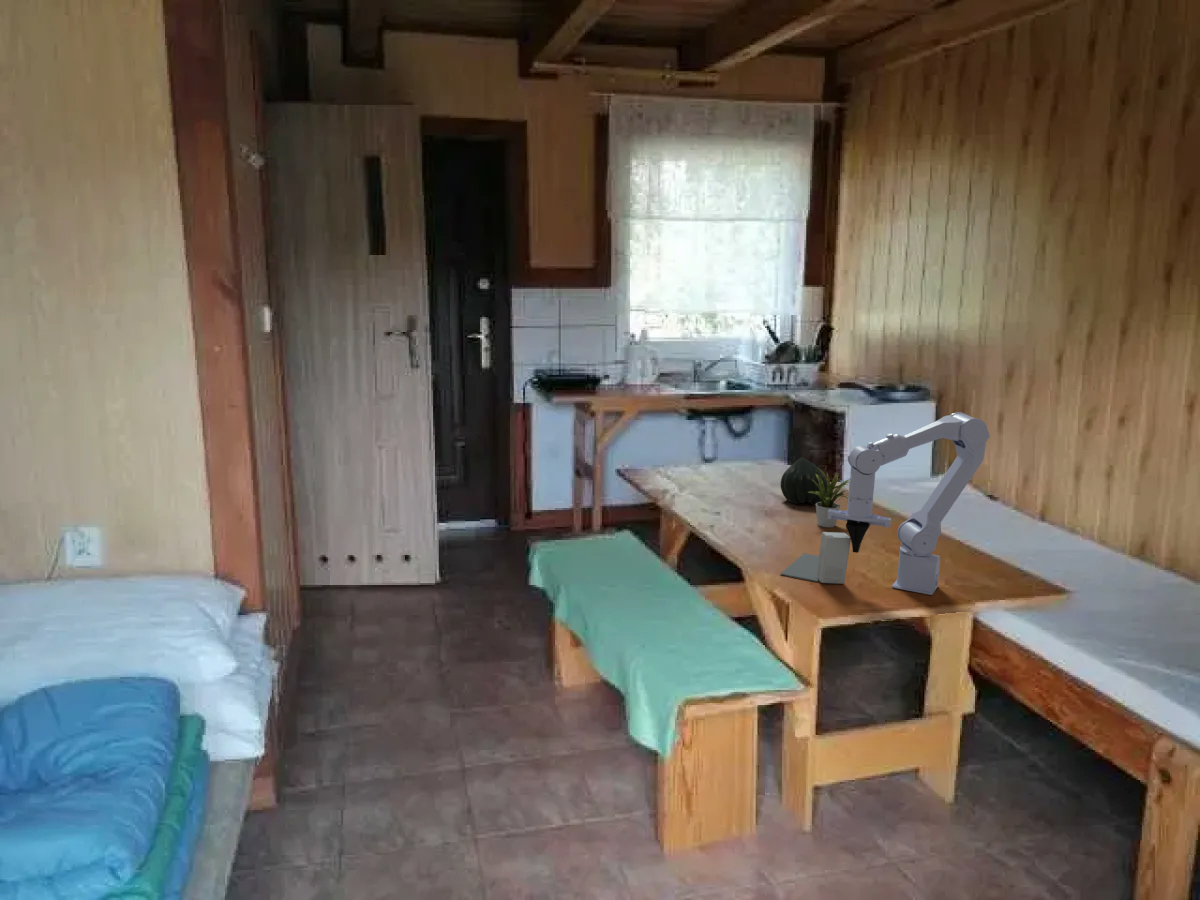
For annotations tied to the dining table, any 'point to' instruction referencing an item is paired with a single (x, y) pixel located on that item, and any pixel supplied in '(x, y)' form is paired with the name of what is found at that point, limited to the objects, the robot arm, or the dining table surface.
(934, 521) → the robot arm
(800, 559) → the mat
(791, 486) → the squash
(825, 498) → the house plant
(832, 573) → the skincare box
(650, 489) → the dining table surface
